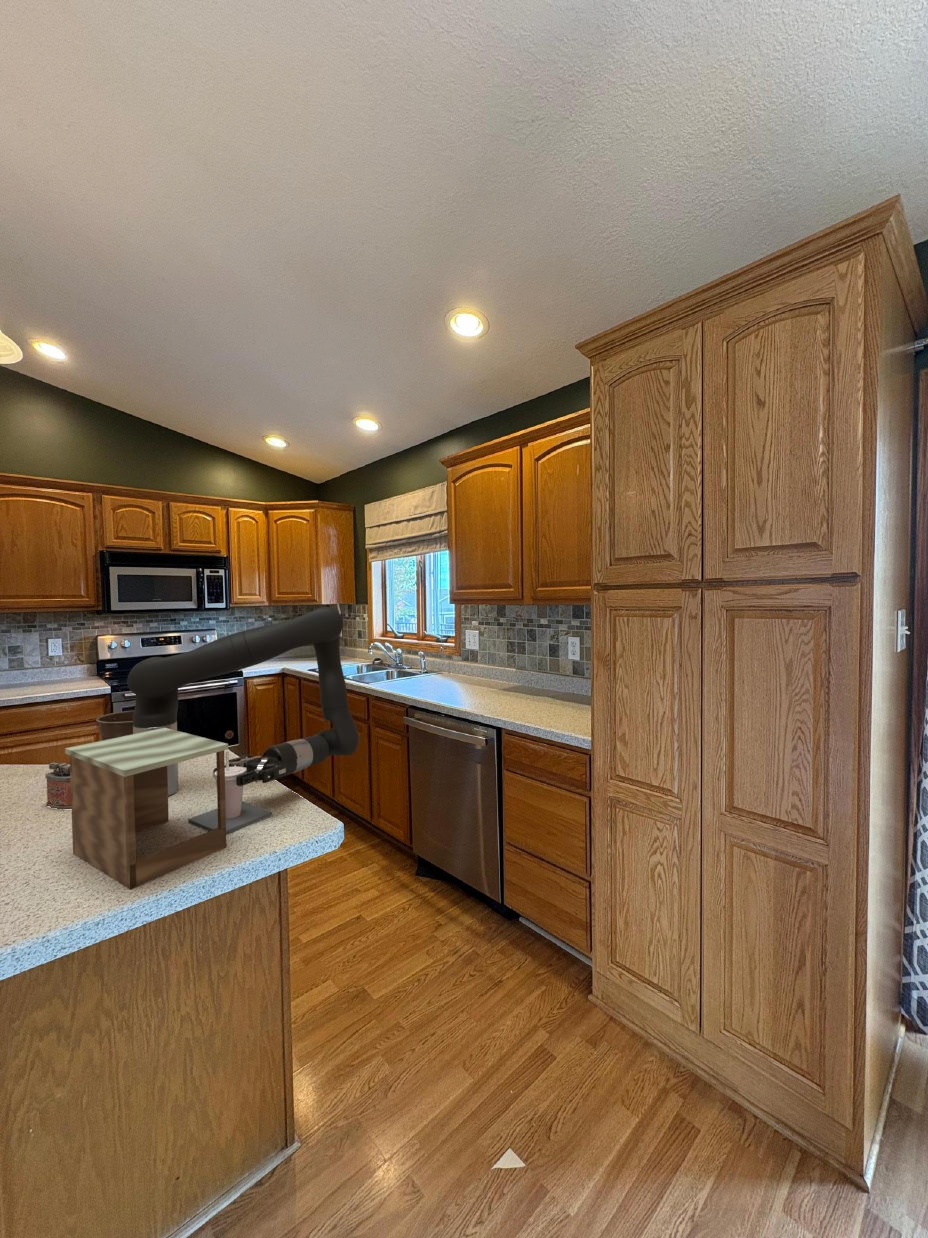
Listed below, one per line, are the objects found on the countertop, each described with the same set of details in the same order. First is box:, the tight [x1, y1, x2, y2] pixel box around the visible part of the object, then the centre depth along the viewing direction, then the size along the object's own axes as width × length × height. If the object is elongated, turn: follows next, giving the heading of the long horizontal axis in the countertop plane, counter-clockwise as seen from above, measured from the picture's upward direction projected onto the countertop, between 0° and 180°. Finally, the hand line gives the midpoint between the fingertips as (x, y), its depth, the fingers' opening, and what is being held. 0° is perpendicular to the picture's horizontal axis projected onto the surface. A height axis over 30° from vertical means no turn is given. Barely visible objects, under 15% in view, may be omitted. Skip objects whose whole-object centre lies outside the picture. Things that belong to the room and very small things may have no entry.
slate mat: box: [187, 800, 273, 836], centre depth 112 cm, size 12×12×1 cm
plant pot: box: [95, 710, 134, 741], centre depth 141 cm, size 16×16×16 cm
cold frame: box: [64, 728, 229, 890], centre depth 97 cm, size 23×18×20 cm
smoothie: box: [213, 750, 247, 819], centre depth 111 cm, size 6×6×14 cm
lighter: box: [45, 762, 71, 809], centre depth 118 cm, size 8×3×10 cm, turn 71°
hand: (225, 777), depth 110 cm, fingers open, 8 cm apart
